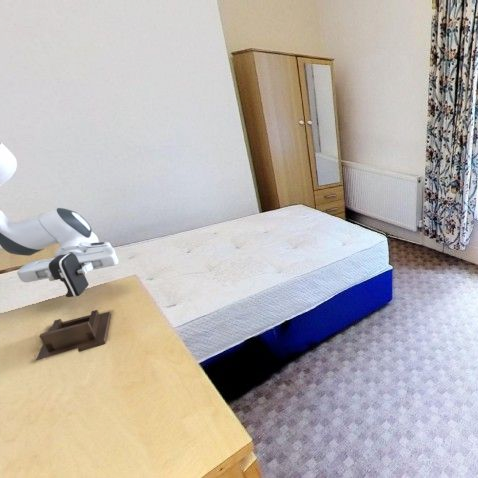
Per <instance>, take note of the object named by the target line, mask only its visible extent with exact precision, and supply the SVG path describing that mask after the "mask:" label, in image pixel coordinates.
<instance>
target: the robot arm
mask: <svg viewBox="0 0 478 478" xmlns="http://www.w3.org/2000/svg"><path fill="white" fill-rule="evenodd" d="M17 169H18V160H17V158H16V157H15V155H14V154H13V153H12V151H11V150H10V149H9V148H8V147H7V146H6V145H4V143H2V142H1V141H0V187H2V186H3V185H4V184H5V183H7V182H8V181H9V180H10V179H11V178H12V177H13V176H14V175H15V173H16V171H17ZM58 244H59V246H58V248H57V249H56V251H55V253H54V254H53V257H49V258H44V259H43V258H42V259H38V260H37V259H36V260H33V261H30V262H27V263H25V264H24V265H22V266H21V267H20V268H19V269H18V270H17V271H16V273H17V276H18V278H19V280H20V282H22V283H31V282H37V281H41V280H46V279H48V281H49V282H54V281H55V280H54V278H53V277H52V275H51V272H50V270H49V263H50V262H51V261H52V260H53V259H54V258H56V257H57V256H59V255H64V254H75V255H76V257H77V259H78V261H79V263H80V265H81V268H78V269H77V273H78V275H85V276H86V275H87V273H89V272H91V271H93V270H99V269H104V268H109V267H114V266H117V265H118V264H119V263H120V261H119V257H118V256H117V253H116V250H115V248H114V247H113V246H112V245H111V243H110V242H109V241H104V242H103V241H102V242H100V240H99V237H98V235H97V234H96V233H94V232H93V231H92V226H91V225H90V223H89V222H88V221H87V219H86V218H85V217H83V216H82V215H81V214H80V213H78V212H77V211H74V210H72V209H68V208H63V207H56V208H53V209H51V210H48V211H45V212H42V213H39V214H38V215H34V216H30V217H29V218H25V219H23V220H19V221H13V220H12V221H11V220H10V219H9V218H8V217H7V216H6V214H5V213H4V212H3V210H1V209H0V247H1V248H2V249H3V250H4V251H5V252H7V253H9V254H12V255H15V256H26V257H27V256H28V257H29V256H32V255H33V256H34V255H35V254H37V253H39V252H42V251H43V250H45V249H46V248H50V247H52V246H56V245H58ZM58 280H59V279H57V280H56V281H58Z"/></svg>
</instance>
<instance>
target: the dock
mask: <svg viewBox="0 0 478 478" xmlns="http://www.w3.org/2000/svg"><path fill="white" fill-rule="evenodd" d="M111 317H112V313H111V311H107V312H103V313H99V310H98V309H95V310H91V312H90V314H89V315H85V316H81V317H77V318H73V319H69V320H66V321H63V320H62V318H59V319H55V320H53V323H52V325H51V326H50V327H49V330H48V331H47V332H43V333H40V334H39V338H40V340H41V342H42V346H41V347H40V350H39V352H38V354H37V357H36V360H35V361H39V360H42V359H47V358H50V357H53V356H56V355H60V354H64V353H67V352H70V351H73V350H77V351H78V352H82V351H86V350H89V349H93V348H95V347H99V346H102V345H105V344H107V338H108V333H109V328H110V322H111Z"/></svg>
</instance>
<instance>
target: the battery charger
mask: <svg viewBox="0 0 478 478" xmlns="http://www.w3.org/2000/svg"><path fill="white" fill-rule="evenodd" d="M53 258H54V257H53ZM78 268H81V265H80V263H79V261H78V259H77V257H76V255H75V254H64V255H59V256H57V257H56V258H54V259H53V260H52V261H51V262H50V263H49V270H50V272H51V275H52V277H53V278H54V281H58V280H59V281H60V282H62V283H64V286H65V288H66V289H67V292H66V293H65V297H66V298H73V297H75V298H76V297H78V296H80V295H82V294H83V293H84V291H85V290H86V289H87V288H88V286H89V285H90V284H89V282H88V280H87V277H86V274H85V275H78V273H77V269H78ZM57 279H58V280H57Z"/></svg>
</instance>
